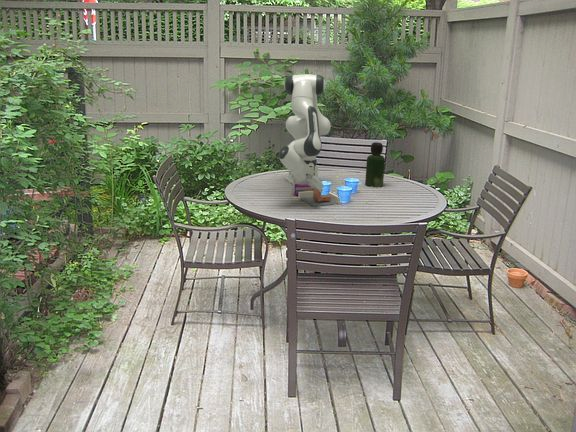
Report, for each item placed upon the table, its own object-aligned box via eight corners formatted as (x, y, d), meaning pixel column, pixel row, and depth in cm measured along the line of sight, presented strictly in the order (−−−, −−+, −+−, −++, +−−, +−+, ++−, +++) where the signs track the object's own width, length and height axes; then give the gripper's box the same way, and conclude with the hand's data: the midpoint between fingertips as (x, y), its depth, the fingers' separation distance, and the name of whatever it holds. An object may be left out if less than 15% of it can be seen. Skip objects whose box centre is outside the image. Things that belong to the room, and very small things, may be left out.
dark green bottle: (386, 186, 371) (389, 144, 364) (370, 187, 367) (373, 144, 360) (377, 183, 380) (380, 141, 373) (361, 183, 376) (364, 141, 370)
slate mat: (299, 199, 336) (299, 198, 335) (323, 197, 342) (323, 196, 342) (313, 206, 322) (313, 205, 322) (338, 204, 328) (338, 203, 328)
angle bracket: (312, 199, 330) (313, 182, 328) (326, 198, 334) (327, 181, 331) (317, 201, 326) (318, 184, 324) (331, 200, 330) (332, 183, 327)
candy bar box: (311, 193, 349) (312, 163, 344) (314, 195, 344) (315, 165, 340) (291, 193, 346) (292, 164, 341) (294, 196, 341) (295, 166, 337)
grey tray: (298, 198, 337) (298, 191, 336) (324, 196, 344) (325, 189, 343) (313, 206, 322) (314, 199, 321) (341, 204, 329) (341, 197, 328)
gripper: (316, 172, 312) (332, 190, 319) (297, 164, 330) (313, 181, 337) (307, 181, 311) (324, 199, 318) (289, 172, 329) (305, 190, 336)
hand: (318, 189), depth 328 cm, fingers closed on angle bracket, 5 cm apart
